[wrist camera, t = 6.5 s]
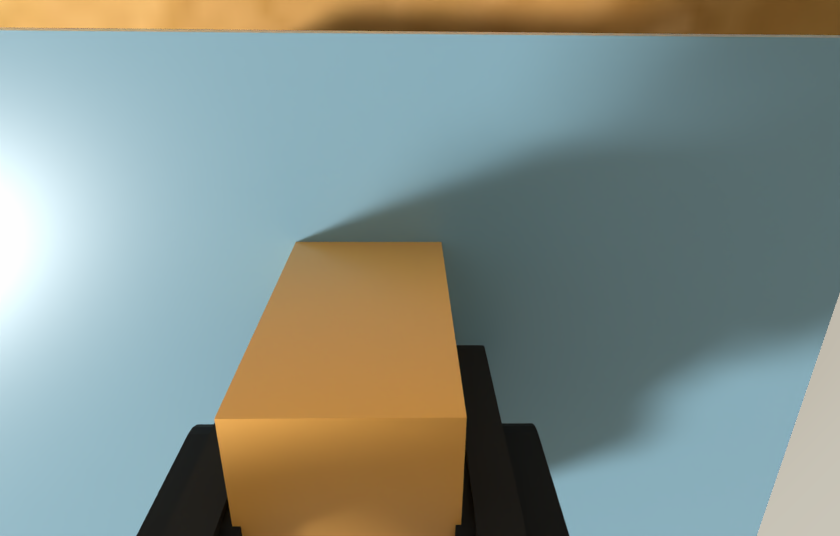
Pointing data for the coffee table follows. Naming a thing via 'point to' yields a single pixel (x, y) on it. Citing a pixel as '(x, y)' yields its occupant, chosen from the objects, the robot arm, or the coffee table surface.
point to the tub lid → (410, 269)
